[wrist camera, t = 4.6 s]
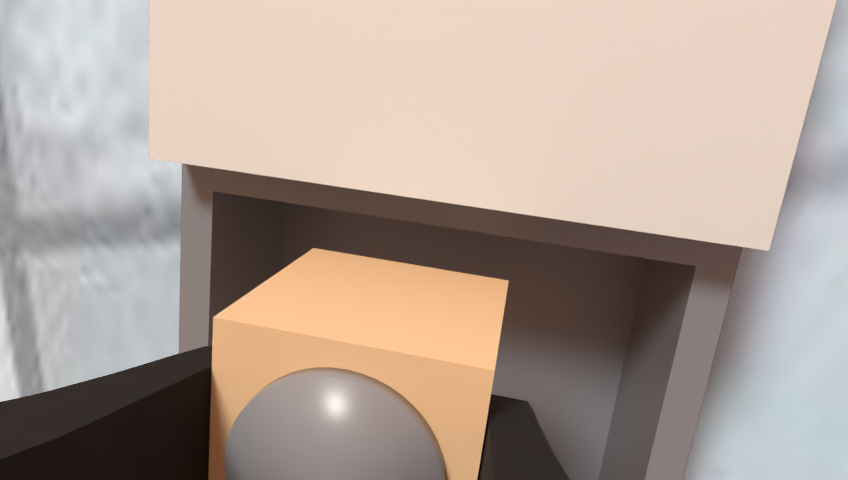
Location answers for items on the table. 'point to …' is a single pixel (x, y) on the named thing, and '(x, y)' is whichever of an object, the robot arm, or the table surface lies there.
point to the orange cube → (355, 372)
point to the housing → (524, 308)
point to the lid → (501, 102)
